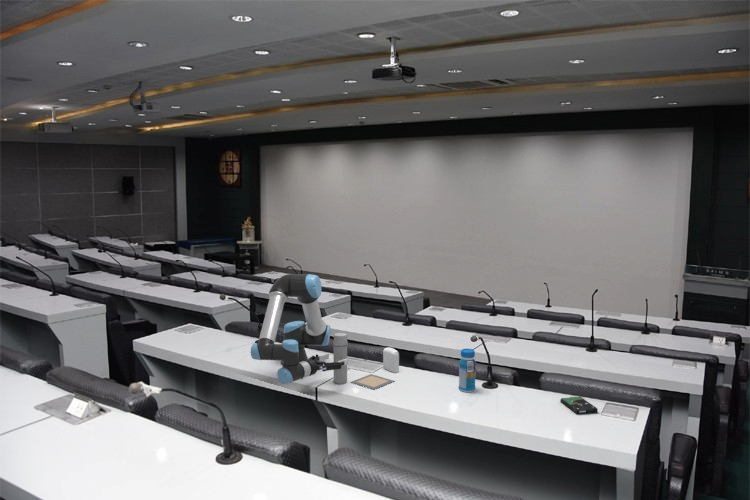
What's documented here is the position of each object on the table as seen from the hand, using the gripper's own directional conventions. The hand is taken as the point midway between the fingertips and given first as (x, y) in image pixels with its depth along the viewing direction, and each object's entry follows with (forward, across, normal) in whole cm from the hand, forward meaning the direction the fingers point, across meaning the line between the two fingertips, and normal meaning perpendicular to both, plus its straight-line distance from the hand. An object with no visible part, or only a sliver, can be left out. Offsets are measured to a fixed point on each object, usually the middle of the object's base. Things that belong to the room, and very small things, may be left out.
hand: (337, 358), depth 279 cm
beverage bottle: (+36, +54, -13) cm, 66 cm away
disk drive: (+50, +104, -14) cm, 117 cm away
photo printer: (+34, +7, -13) cm, 37 cm away
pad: (+13, +12, -13) cm, 22 cm away
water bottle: (+3, 0, -13) cm, 13 cm away
